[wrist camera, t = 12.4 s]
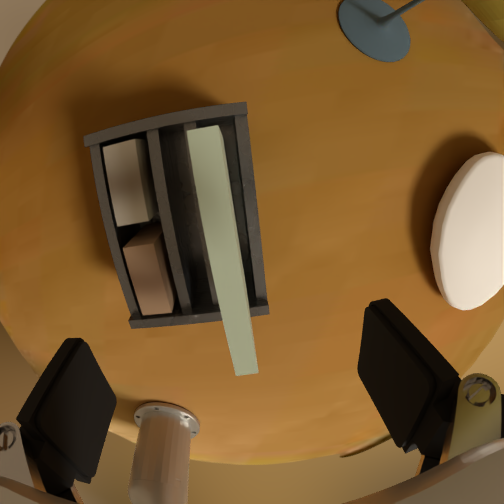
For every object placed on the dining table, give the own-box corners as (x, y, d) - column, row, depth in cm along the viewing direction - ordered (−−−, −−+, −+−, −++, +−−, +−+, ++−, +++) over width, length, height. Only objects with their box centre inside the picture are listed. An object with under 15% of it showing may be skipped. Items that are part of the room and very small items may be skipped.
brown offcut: (167, 202, 30) (148, 220, 23) (142, 207, 30) (117, 226, 22) (158, 140, 27) (134, 138, 20) (132, 146, 27) (102, 147, 20)
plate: (540, 219, 32) (480, 331, 39) (519, 208, 38) (461, 313, 45) (504, 117, 22) (421, 283, 29) (472, 113, 28) (393, 260, 35)
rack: (259, 274, 35) (269, 314, 27) (150, 287, 34) (131, 328, 26) (241, 114, 28) (246, 101, 20) (119, 137, 28) (83, 136, 19)
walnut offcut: (182, 276, 33) (171, 312, 26) (159, 279, 33) (142, 315, 26) (170, 220, 31) (153, 243, 23) (146, 224, 31) (122, 248, 23)
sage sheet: (242, 261, 33) (258, 372, 16) (230, 263, 33) (236, 375, 16) (223, 139, 28) (218, 125, 11) (210, 141, 28) (186, 130, 11)
